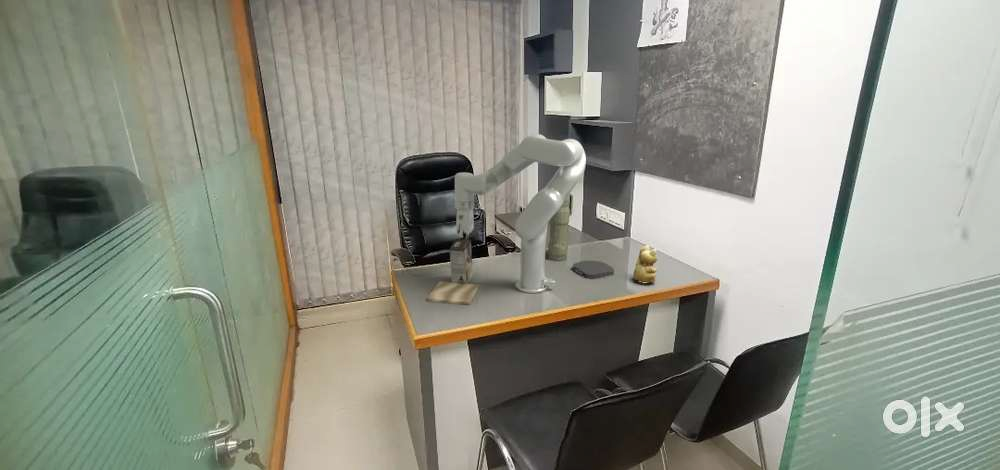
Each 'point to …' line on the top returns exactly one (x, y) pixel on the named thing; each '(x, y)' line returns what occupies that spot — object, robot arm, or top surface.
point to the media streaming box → (593, 269)
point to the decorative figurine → (646, 265)
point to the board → (453, 293)
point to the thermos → (560, 231)
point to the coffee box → (461, 261)
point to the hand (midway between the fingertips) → (464, 248)
